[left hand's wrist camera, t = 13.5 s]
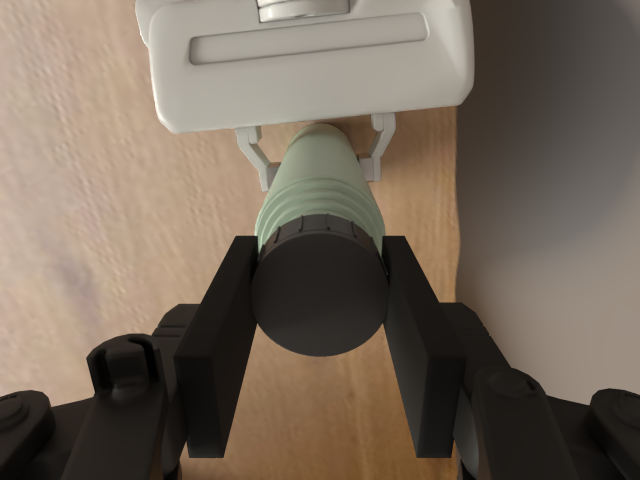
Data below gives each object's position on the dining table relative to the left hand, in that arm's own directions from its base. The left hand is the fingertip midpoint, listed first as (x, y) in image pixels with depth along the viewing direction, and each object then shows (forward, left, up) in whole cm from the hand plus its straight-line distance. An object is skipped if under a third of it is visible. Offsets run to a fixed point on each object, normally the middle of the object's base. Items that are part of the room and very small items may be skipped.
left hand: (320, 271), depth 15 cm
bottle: (0, 0, -22) cm, 22 cm away
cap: (0, 0, +2) cm, 2 cm away
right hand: (-1, 0, -16) cm, 16 cm away
